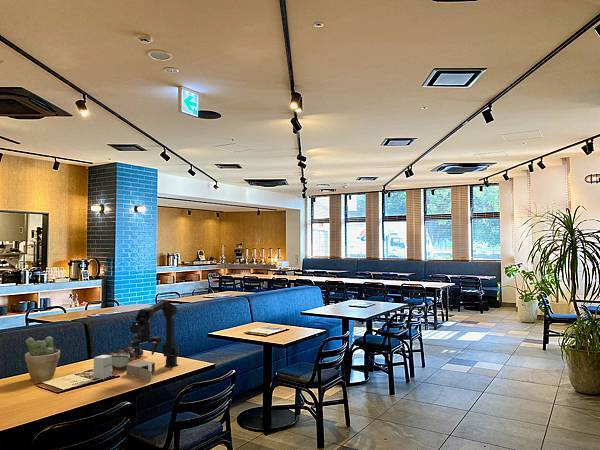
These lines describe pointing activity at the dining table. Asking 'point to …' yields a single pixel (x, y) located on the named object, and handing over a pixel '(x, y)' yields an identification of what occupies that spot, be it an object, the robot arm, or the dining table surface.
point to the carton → (134, 367)
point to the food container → (120, 361)
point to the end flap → (146, 372)
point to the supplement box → (102, 366)
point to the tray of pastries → (132, 354)
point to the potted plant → (41, 359)
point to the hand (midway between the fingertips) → (145, 356)
